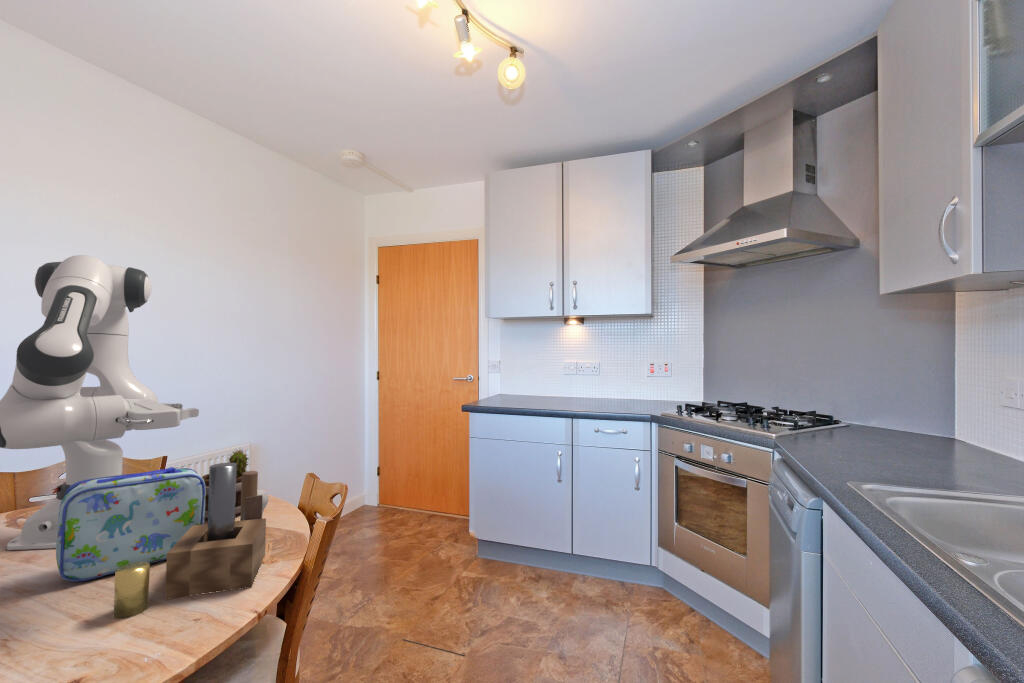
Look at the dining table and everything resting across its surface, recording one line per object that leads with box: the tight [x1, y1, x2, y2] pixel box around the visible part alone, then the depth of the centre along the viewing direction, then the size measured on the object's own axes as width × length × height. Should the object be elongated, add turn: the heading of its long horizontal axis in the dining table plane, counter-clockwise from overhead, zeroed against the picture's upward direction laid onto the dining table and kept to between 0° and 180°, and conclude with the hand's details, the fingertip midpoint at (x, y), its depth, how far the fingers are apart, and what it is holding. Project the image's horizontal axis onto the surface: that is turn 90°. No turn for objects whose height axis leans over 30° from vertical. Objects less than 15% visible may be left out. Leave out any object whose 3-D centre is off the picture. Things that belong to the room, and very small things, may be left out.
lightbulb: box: [257, 488, 269, 515], centre depth 123 cm, size 6×6×11 cm
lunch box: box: [55, 466, 206, 582], centre depth 104 cm, size 26×11×21 cm, turn 137°
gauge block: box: [164, 518, 267, 600], centre depth 98 cm, size 15×15×9 cm
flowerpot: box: [201, 447, 250, 520], centre depth 134 cm, size 14×15×20 cm
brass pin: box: [113, 562, 151, 619], centre depth 84 cm, size 5×5×8 cm
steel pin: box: [207, 462, 237, 542], centre depth 98 cm, size 5×5×24 cm
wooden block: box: [239, 470, 263, 521], centre depth 112 cm, size 4×11×18 cm, turn 38°
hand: (189, 409), depth 102 cm, fingers open, 8 cm apart
